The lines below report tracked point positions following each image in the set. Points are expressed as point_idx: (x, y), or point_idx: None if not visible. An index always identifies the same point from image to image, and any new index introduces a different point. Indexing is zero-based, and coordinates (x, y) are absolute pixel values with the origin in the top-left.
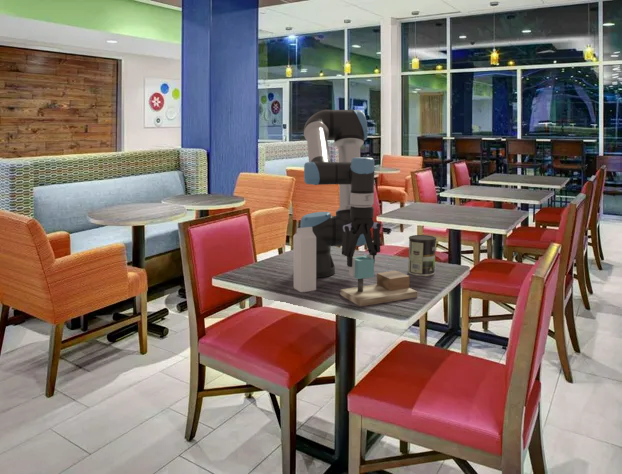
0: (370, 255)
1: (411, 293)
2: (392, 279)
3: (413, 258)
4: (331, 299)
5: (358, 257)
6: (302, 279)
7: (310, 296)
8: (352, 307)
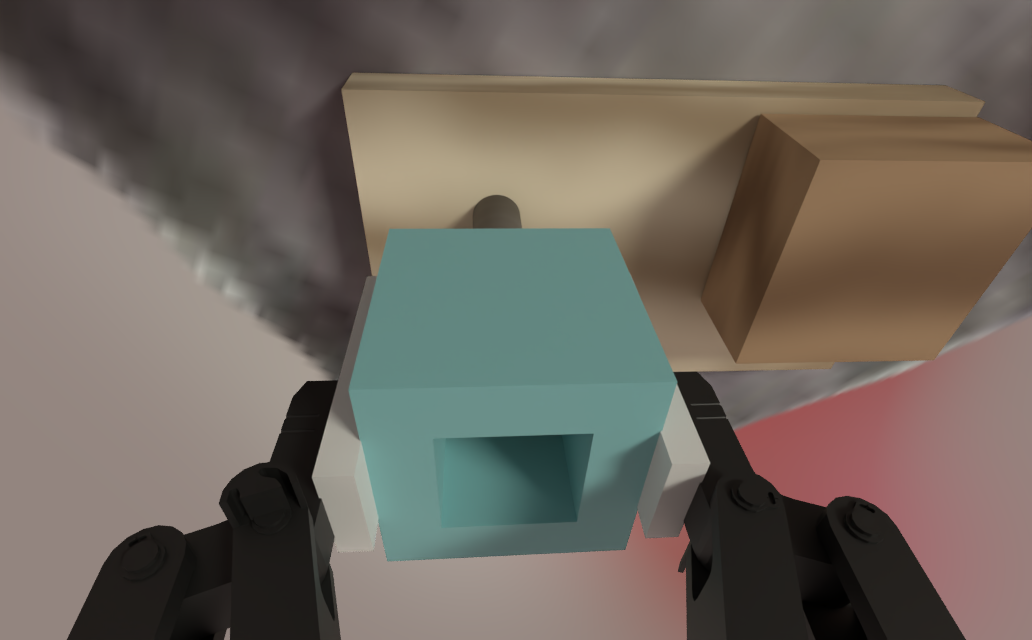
0: (652, 528)
1: (781, 364)
2: (758, 357)
3: None
4: (230, 147)
5: (504, 435)
6: None
7: None
8: (338, 344)
